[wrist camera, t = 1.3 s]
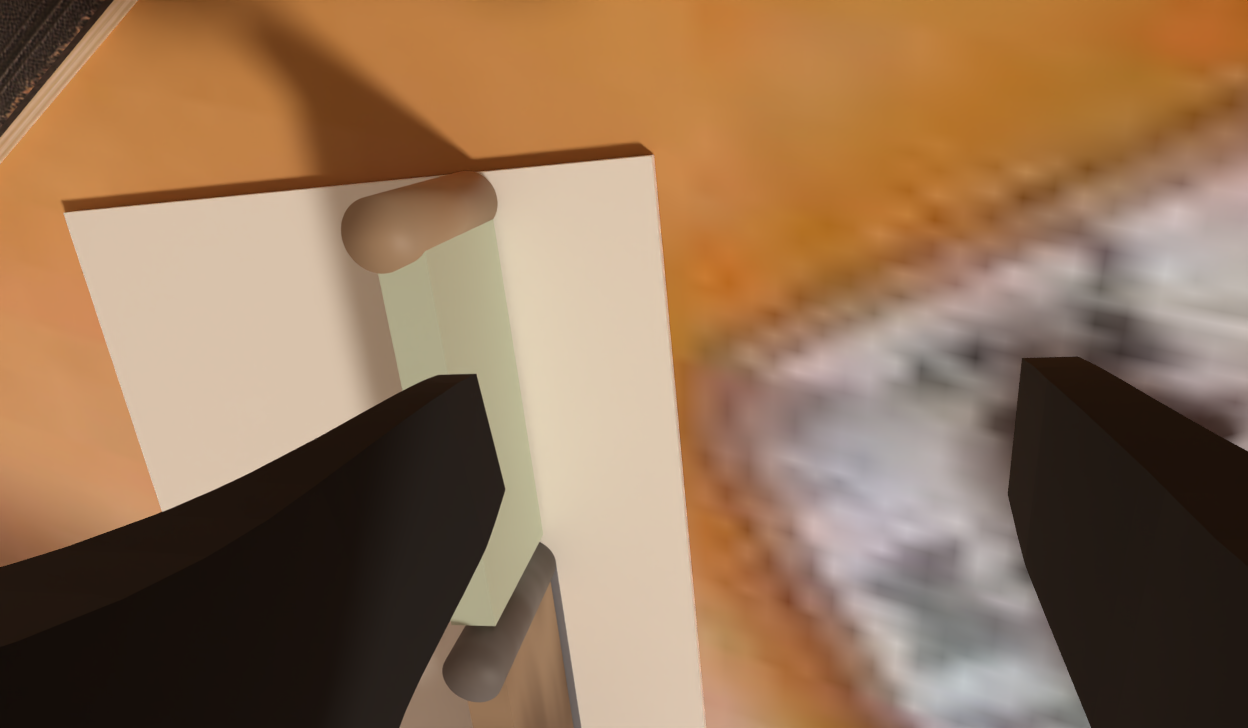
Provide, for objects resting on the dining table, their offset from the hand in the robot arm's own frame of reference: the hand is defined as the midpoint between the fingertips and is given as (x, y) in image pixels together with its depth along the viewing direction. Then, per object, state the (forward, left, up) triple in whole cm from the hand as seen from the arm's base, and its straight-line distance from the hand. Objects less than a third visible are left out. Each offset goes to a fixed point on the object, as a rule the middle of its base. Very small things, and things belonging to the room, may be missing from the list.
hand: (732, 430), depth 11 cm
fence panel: (-2, +7, -10) cm, 13 cm away
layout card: (-8, +11, -11) cm, 18 cm away
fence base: (-14, +7, -11) cm, 19 cm away
